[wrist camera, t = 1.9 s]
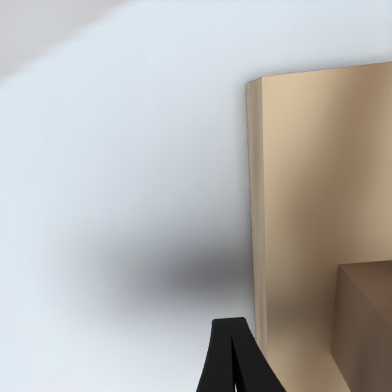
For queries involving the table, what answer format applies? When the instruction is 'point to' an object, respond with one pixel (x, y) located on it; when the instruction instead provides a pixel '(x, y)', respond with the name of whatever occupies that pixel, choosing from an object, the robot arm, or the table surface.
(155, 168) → the table surface
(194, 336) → the table surface
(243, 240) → the table surface
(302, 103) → the board
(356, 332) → the walnut block
